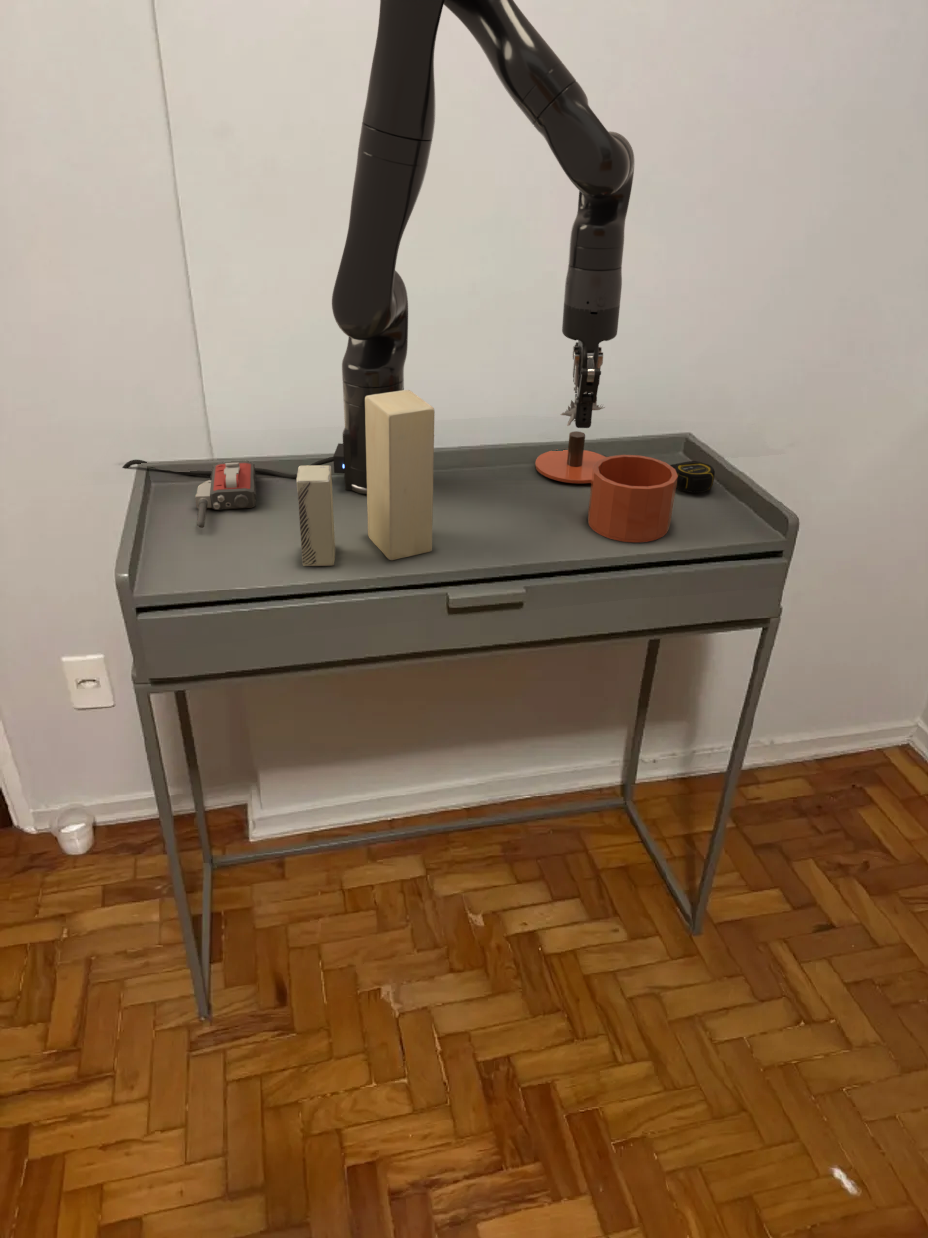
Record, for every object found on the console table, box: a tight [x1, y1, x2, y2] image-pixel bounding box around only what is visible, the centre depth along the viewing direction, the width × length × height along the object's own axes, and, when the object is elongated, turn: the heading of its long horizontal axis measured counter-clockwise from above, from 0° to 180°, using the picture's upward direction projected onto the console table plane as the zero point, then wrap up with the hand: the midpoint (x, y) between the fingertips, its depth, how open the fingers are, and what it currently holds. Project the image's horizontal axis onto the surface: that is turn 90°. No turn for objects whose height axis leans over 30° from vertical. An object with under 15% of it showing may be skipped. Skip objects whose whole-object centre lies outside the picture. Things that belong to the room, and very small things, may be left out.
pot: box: [587, 454, 678, 543], centre depth 137 cm, size 12×12×8 cm
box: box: [296, 464, 336, 567], centre depth 125 cm, size 5×4×13 cm
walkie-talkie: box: [194, 460, 257, 529], centre depth 141 cm, size 9×4×20 cm
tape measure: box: [669, 460, 716, 493], centre depth 149 cm, size 7×7×4 cm
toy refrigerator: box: [365, 389, 436, 561], centre depth 126 cm, size 8×7×21 cm
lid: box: [534, 430, 607, 484], centre depth 153 cm, size 13×13×6 cm
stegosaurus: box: [560, 392, 606, 427], centre depth 133 cm, size 2×7×5 cm, turn 109°
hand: (582, 422), depth 134 cm, fingers closed on stegosaurus, 2 cm apart
